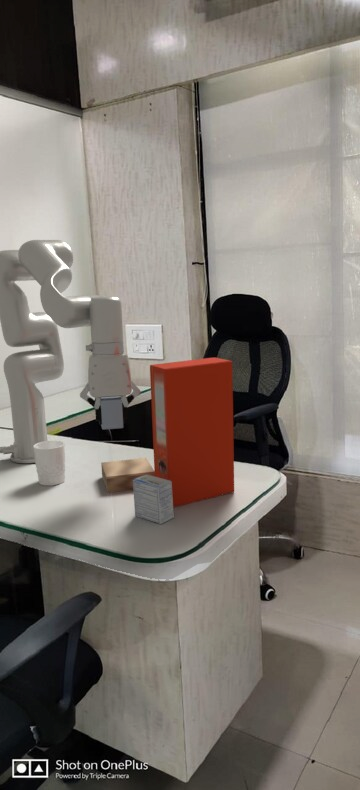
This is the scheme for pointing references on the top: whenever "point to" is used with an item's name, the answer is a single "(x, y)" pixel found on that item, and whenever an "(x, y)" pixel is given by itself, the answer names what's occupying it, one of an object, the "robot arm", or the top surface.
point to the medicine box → (153, 498)
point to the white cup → (50, 462)
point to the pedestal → (124, 473)
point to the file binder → (193, 427)
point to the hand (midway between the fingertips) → (111, 422)
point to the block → (111, 412)
